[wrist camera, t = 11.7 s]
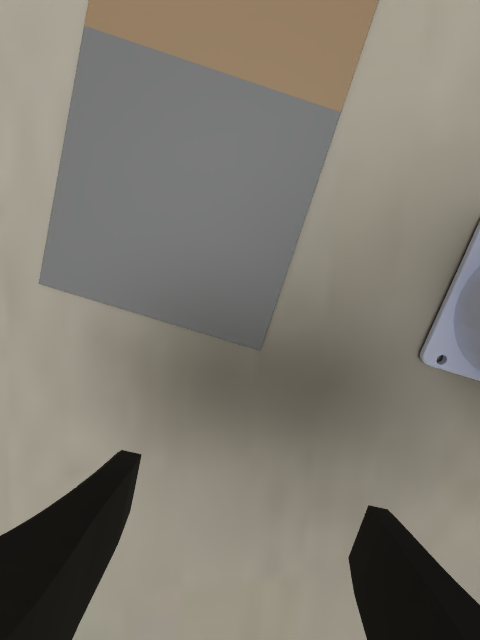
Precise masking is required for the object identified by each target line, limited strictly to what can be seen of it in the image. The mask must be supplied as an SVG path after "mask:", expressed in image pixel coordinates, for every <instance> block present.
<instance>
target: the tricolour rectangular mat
mask: <svg viewBox="0 0 480 640" xmlns="http://www.w3.org/2000/svg"><path fill="white" fill-rule="evenodd" d="M378 1H379V0H89V1H88V7H87V12H86V18H85V24H84V30H83V35H82V41H81V47H80V52H79V58H78V64H77V69H76V75H75V81H74V86H73V92H72V98H71V103H70V109H69V115H68V120H67V126H66V132H65V137H64V143H63V149H62V154H61V160H60V166H59V171H58V177H57V183H56V188H55V194H54V200H53V205H52V211H51V217H50V223H49V228H48V234H47V240H46V245H45V251H44V257H43V262H42V268H41V274H40V279H39V284H41V285H44V286H48V287H51V288H54V289H58V290H61V291H64V292H68V293H71V294H74V295H78V296H81V297H84V298H88V299H91V300H94V301H97V302H101V303H104V304H107V305H111V306H114V307H117V308H121V309H124V310H127V311H131V312H134V313H137V314H141V315H144V316H147V317H151V318H154V319H157V320H160V321H164V322H167V323H170V324H174V325H177V326H180V327H184V328H187V329H190V330H194V331H197V332H200V333H204V334H207V335H210V336H214V337H217V338H220V339H223V340H227V341H230V342H233V343H237V344H240V345H243V346H247V347H250V348H253V349H257V350H260V349H261V346H262V343H263V340H264V337H265V335H266V332H267V329H268V326H269V323H270V320H271V317H272V314H273V311H274V308H275V305H276V302H277V299H278V296H279V293H280V290H281V287H282V284H283V281H284V278H285V275H286V273H287V270H288V267H289V264H290V261H291V258H292V255H293V252H294V249H295V246H296V243H297V240H298V237H299V234H300V231H301V228H302V225H303V222H304V219H305V216H306V214H307V211H308V208H309V205H310V202H311V199H312V196H313V193H314V190H315V187H316V184H317V181H318V178H319V175H320V172H321V169H322V166H323V163H324V160H325V157H326V155H327V152H328V149H329V146H330V143H331V140H332V137H333V134H334V131H335V128H336V125H337V122H338V119H339V116H340V113H341V110H342V107H343V104H344V101H345V98H346V96H347V93H348V90H349V87H350V84H351V81H352V78H353V75H354V72H355V69H356V66H357V63H358V60H359V57H360V54H361V51H362V48H363V45H364V42H365V39H366V37H367V34H368V31H369V28H370V25H371V22H372V19H373V16H374V13H375V10H376V7H377V4H378Z"/></svg>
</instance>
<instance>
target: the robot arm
mask: <svg viewBox="0 0 480 640" xmlns="http://www.w3.org/2000/svg"><path fill="white" fill-rule="evenodd" d="M440 355H443V359H442V360H441V361H440V362H437V361H436V360H437V358H438V356H440ZM420 359H421V360H422V362H423V363H425V364H426V365H428V366H432V367H435V368H438V369H441V370H445V371H448V372H451V373H454V374H458V375H461V376H464V377H467V378H471V379H474V380H477V381H480V222H479V224H478V226H477V228H476V231H475V233H474V235H473V237H472V239H471V242H470V244H469V246H468V248H467V251H466V253H465V255H464V257H463V259H462V262H461V264H460V266H459V268H458V270H457V273H456V275H455V277H454V279H453V282H452V284H451V286H450V288H449V290H448V293H447V295H446V297H445V299H444V301H443V304H442V306H441V308H440V310H439V313H438V315H437V317H436V319H435V321H434V324H433V326H432V328H431V330H430V332H429V335H428V337H427V339H426V341H425V344H424V346H423V348H422V350H421V353H420ZM140 459H141V454H137V453H132V452H128V451H123V450H121V451H120V452H118V453H117V454H116V455H114V456H113V457H112V458H111V459H110V460H109V461H108V462H107V463H105V464H104V465H103V466H102V467H101V468H100V469H98V470H97V471H96V472H95V473H94V474H92V475H91V476H90V477H89V478H87V479H86V480H85V481H83V482H82V483H81V484H80V485H78V486H77V487H76V488H74V489H73V490H72V491H70V492H69V493H68V494H66V495H65V496H63V497H62V498H61V499H59V500H58V501H56V502H55V503H53V504H52V505H51V506H49V507H48V508H46V509H45V510H43V511H42V512H40V513H38V514H37V515H35V516H34V517H32V518H31V519H29V520H27V521H26V522H24V523H22V524H20V525H19V526H17V527H15V528H14V529H12V530H10V531H8V532H7V533H5V534H3V535H1V536H0V640H72V638H73V636H74V634H75V632H76V630H77V627H78V625H79V623H80V621H81V619H82V617H83V615H84V613H85V611H86V609H87V606H88V604H89V602H90V600H91V598H92V596H93V594H94V592H95V590H96V588H97V586H98V584H99V582H100V580H101V578H102V576H103V574H104V572H105V570H106V568H107V566H108V564H109V561H110V559H111V557H112V555H113V553H114V551H115V549H116V547H117V545H118V543H119V540H120V537H121V535H122V532H123V529H124V526H125V524H126V521H127V518H128V515H129V513H130V510H131V505H132V500H133V495H134V490H135V484H136V479H137V474H138V469H139V464H140ZM349 564H350V571H351V577H352V583H353V589H354V594H355V598H356V602H357V605H358V609H359V613H360V616H361V620H362V623H363V627H364V630H365V634H366V637H367V640H480V605H479V604H478V603H477V602H476V601H475V600H474V599H473V598H472V597H471V596H470V595H469V594H468V593H467V592H466V591H465V590H464V589H463V588H462V587H461V586H460V585H459V584H458V583H457V582H456V581H455V580H454V579H453V578H452V577H451V576H450V575H449V574H448V573H447V572H446V571H445V570H444V569H443V568H442V567H441V566H440V565H439V563H438V562H437V561H436V560H435V559H434V558H433V557H432V556H431V555H430V554H429V553H428V552H427V551H426V550H425V548H424V547H423V546H422V545H421V544H420V543H419V542H418V541H417V540H416V539H415V538H414V537H413V535H412V534H411V533H410V532H409V531H408V530H407V529H406V528H405V527H404V526H403V525H402V524H401V523H400V522H399V521H398V519H397V518H396V517H395V516H394V515H393V514H392V513H391V512H389V511H388V510H387V509H383V508H378V507H374V506H369V505H368V508H367V511H366V513H365V516H364V519H363V521H362V524H361V526H360V529H359V532H358V534H357V537H356V539H355V542H354V545H353V547H352V550H351V553H350V555H349Z"/></svg>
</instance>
